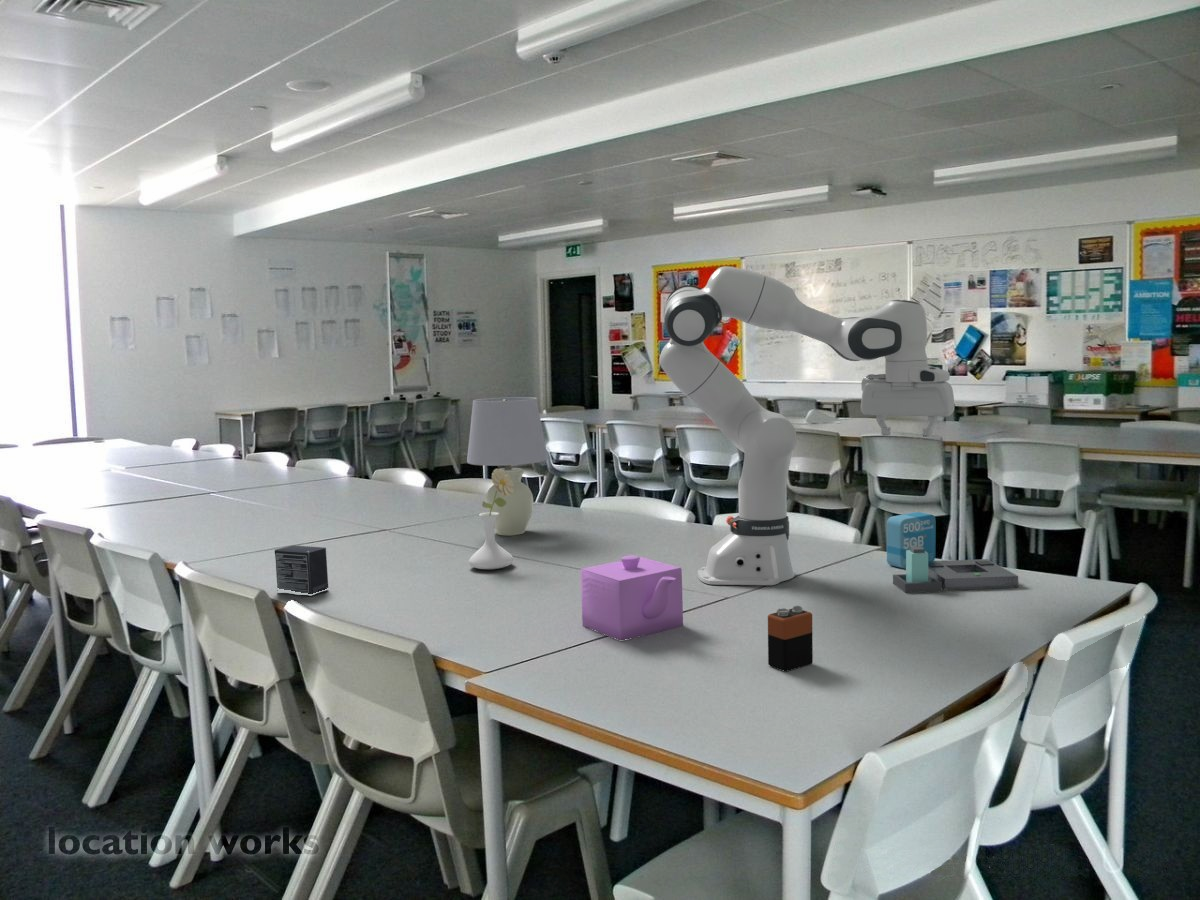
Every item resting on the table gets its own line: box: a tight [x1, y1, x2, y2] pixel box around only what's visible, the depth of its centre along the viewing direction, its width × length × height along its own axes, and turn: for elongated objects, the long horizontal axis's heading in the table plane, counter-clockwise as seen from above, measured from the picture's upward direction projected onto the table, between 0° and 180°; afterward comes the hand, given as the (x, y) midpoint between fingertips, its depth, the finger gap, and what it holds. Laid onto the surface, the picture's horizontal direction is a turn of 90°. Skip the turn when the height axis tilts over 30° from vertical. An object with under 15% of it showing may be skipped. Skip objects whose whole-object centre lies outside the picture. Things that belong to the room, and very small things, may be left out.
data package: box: [886, 511, 937, 570], centre depth 228 cm, size 12×4×12 cm, turn 120°
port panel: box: [928, 558, 1019, 591], centre depth 213 cm, size 16×16×3 cm
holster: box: [892, 573, 943, 594], centre depth 208 cm, size 8×8×2 cm
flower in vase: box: [468, 468, 515, 570], centre depth 239 cm, size 13×11×25 cm
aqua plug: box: [905, 547, 928, 583], centre depth 208 cm, size 4×4×9 cm
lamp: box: [466, 396, 549, 537], centre depth 281 cm, size 24×24×40 cm
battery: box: [767, 605, 814, 672], centre depth 161 cm, size 4×7×10 cm, turn 123°
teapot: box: [580, 554, 684, 641], centre depth 186 cm, size 15×25×14 cm, turn 35°
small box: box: [274, 544, 329, 594], centre depth 221 cm, size 11×6×10 cm, turn 65°
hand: (906, 436), depth 211 cm, fingers open, 8 cm apart
